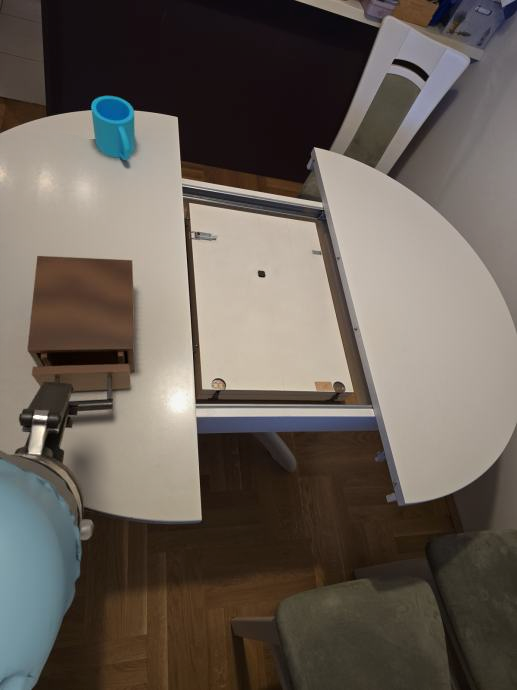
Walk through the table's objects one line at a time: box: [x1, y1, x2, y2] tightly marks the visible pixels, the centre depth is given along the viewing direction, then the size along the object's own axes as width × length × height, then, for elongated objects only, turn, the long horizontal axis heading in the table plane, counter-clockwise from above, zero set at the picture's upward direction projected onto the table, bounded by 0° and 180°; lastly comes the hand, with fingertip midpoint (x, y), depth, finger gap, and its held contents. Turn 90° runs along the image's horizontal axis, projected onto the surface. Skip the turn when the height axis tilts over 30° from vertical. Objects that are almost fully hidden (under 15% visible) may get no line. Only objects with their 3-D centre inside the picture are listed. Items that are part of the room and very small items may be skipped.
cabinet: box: [27, 255, 135, 373], centre depth 62 cm, size 16×14×10 cm
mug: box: [90, 95, 136, 161], centre depth 82 cm, size 12×8×8 cm
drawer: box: [31, 351, 132, 413], centre depth 60 cm, size 20×13×8 cm, turn 8°
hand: (47, 489), depth 41 cm, fingers open, 13 cm apart
